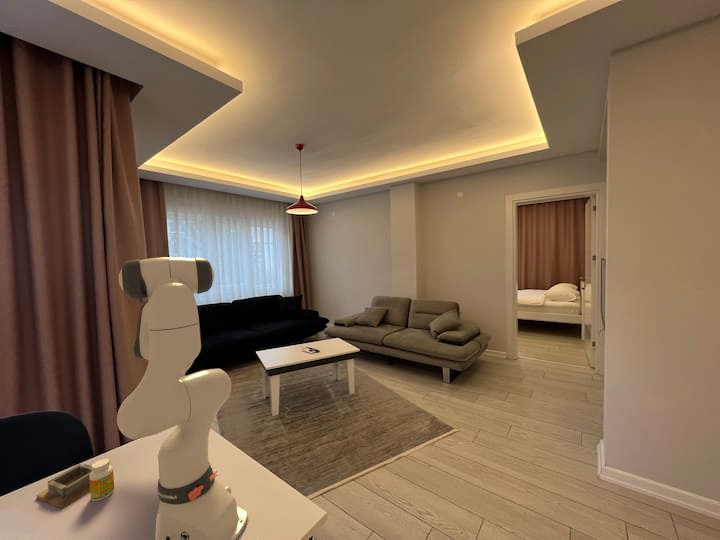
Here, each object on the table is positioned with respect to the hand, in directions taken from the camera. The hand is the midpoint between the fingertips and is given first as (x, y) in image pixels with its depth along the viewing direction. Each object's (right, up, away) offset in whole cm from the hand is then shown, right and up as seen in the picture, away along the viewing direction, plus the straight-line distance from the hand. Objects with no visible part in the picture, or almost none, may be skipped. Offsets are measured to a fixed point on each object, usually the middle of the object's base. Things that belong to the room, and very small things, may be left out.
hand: (141, 421), depth 100 cm
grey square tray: (-15, -16, -8) cm, 23 cm away
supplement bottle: (-4, -16, -11) cm, 20 cm away
